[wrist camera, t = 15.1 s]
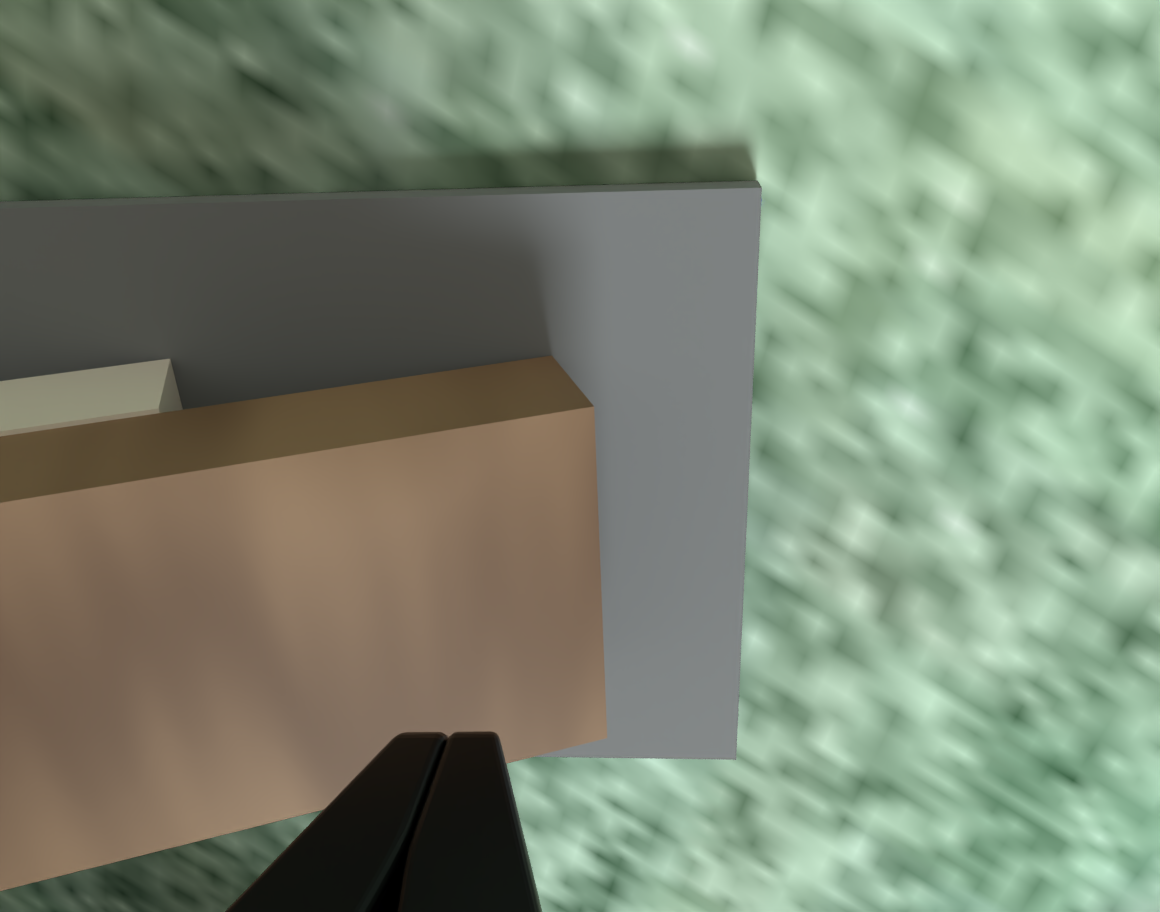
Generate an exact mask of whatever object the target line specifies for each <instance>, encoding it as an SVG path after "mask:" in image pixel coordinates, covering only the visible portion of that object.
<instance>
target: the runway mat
mask: <svg viewBox="0 0 1160 912" xmlns="http://www.w3.org/2000/svg"><path fill="white" fill-rule="evenodd" d="M761 191H762V187H761V186H760V184H759V182H758V181H726V182H690V183H654V184H618V185H582V186H545V187H509V188H473V189H437V190H401V191H365V192H328V193H292V194H256V195H220V196H184V197H148V198H111V199H75V200H39V201H3V202H0V381H6V380H13V379H21V378H28V377H36V376H43V375H51V374H58V373H65V372H73V371H80V370H88V369H95V368H103V367H110V366H118V365H125V364H133V363H140V362H148V361H155V360H163V359H170V360H171V364H172V368H173V372H174V376H175V380H176V384H177V388H178V392H179V396H180V400H181V404H182V408H183V410H184V409H191V408H198V407H205V406H212V405H218V404H225V403H232V402H239V401H246V400H252V399H259V398H266V397H273V396H280V395H286V394H293V393H300V392H307V391H314V390H320V389H327V388H334V387H341V386H348V385H354V384H361V383H368V382H375V381H382V380H388V379H395V378H402V377H409V376H416V375H423V374H429V373H436V372H443V371H450V370H457V369H463V368H470V367H477V366H484V365H491V364H497V363H504V362H511V361H518V360H525V359H531V358H538V357H545V356H553V357H554V359H555V360H556V361H557V362H558V363H559V365H560V366H561V367H562V368H563V369H564V371H565V372H566V373H567V374H568V376H569V377H570V378H571V379H572V380H573V382H574V383H575V384H576V385H577V386H578V388H579V389H580V390H581V391H582V392H583V394H584V395H585V396H586V397H587V398H588V400H589V401H590V402H591V403H592V404H593V406H594V415H595V441H596V466H597V491H598V516H599V542H600V567H601V592H602V618H603V643H604V668H605V693H606V719H607V738H606V739H602V740H598V741H594V742H590V743H586V744H582V745H578V746H574V747H570V748H566V749H562V750H558V751H554V752H550V753H546V754H542V755H538V756H534V757H598V758H665V759H733V760H736V748H737V726H738V703H739V681H740V659H741V637H742V614H743V592H744V570H745V548H746V525H747V503H748V481H749V459H750V436H751V414H752V392H753V370H754V347H755V325H756V303H757V281H758V258H759V236H760V214H761Z"/></svg>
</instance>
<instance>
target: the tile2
mask: <svg viewBox="0 0 1160 912" xmlns="http://www.w3.org/2000/svg"><path fill="white" fill-rule="evenodd" d="M178 410H183V408H182V404H181V400H180V396H179V392H178V388H177V384H176V380H175V376H174V372H173V368H172V364H171V360H170V359H163V360H155V361H148V362H140V363H133V364H125V365H118V366H110V367H103V368H95V369H88V370H80V371H73V372H65V373H58V374H51V375H43V376H36V377H28V378H21V379H13V380H6V381H0V437H1V436H7V435H14V434H21V433H28V432H35V431H41V430H48V429H55V428H62V427H69V426H75V425H82V424H89V423H96V422H103V421H109V420H116V419H123V418H130V417H137V416H144V415H150V414H157V413H164V412H171V411H178Z"/></svg>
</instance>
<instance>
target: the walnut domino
mask: <svg viewBox="0 0 1160 912" xmlns="http://www.w3.org/2000/svg"><path fill="white" fill-rule="evenodd" d="M474 731H491V732H495V733H497V735H498V736H499V738H500V741H501V745H502V749H503V753H504V757H505V761H506V763H510V762H514V761H518V760H522V759H526V758H530V757H534V756H538V755H542V754H546V753H550V752H554V751H558V750H562V749H566V748H570V747H574V746H578V745H582V744H586V743H590V742H594V741H598V740H602V739H606V738H607V719H606V693H605V668H604V643H603V618H602V592H601V567H600V542H599V516H598V491H597V466H596V441H595V415H594V406H593V404H592V403H591V402H590V401H589V400H588V398H587V397H586V396H585V395H584V394H583V392H582V391H581V390H580V389H579V388H578V386H577V385H576V384H575V383H574V382H573V380H572V379H571V378H570V377H569V376H568V374H567V373H566V372H565V371H564V369H563V368H562V367H561V366H560V365H559V363H558V362H557V361H556V360H555V359H554V357H553V356H545V357H538V358H531V359H525V360H518V361H511V362H504V363H497V364H491V365H484V366H477V367H470V368H463V369H457V370H450V371H443V372H436V373H429V374H423V375H416V376H409V377H402V378H395V379H388V380H382V381H375V382H368V383H361V384H354V385H348V386H341V387H334V388H327V389H320V390H314V391H307V392H300V393H293V394H286V395H280V396H273V397H266V398H259V399H252V400H246V401H239V402H232V403H225V404H218V405H212V406H205V407H198V408H191V409H184V410H178V411H171V412H164V413H157V414H150V415H144V416H137V417H130V418H123V419H116V420H109V421H103V422H96V423H89V424H82V425H75V426H69V427H62V428H55V429H48V430H41V431H35V432H28V433H21V434H14V435H7V436H1V437H0V891H3V890H7V889H11V888H14V887H18V886H22V885H26V884H30V883H34V882H38V881H42V880H46V879H50V878H54V877H58V876H62V875H66V874H70V873H74V872H78V871H82V870H86V869H90V868H94V867H98V866H102V865H106V864H110V863H114V862H118V861H122V860H126V859H130V858H133V857H137V856H141V855H145V854H149V853H153V852H157V851H161V850H165V849H169V848H173V847H177V846H181V845H185V844H189V843H193V842H197V841H201V840H205V839H209V838H213V837H217V836H221V835H225V834H229V833H233V832H237V831H241V830H245V829H249V828H252V827H256V826H260V825H264V824H268V823H272V822H276V821H280V820H284V819H288V818H292V817H296V816H300V815H304V814H308V813H312V812H316V811H320V810H324V809H325V808H326V807H327V806H328V805H329V804H330V803H331V802H332V801H333V800H334V799H335V798H336V797H337V796H338V795H339V793H340V792H341V791H342V790H343V789H344V788H345V787H346V786H347V785H348V784H349V783H350V782H351V781H352V780H353V779H354V778H355V777H356V776H357V775H358V774H359V773H360V772H361V771H362V770H363V769H364V768H365V767H366V766H367V765H368V763H369V762H370V761H371V760H372V759H373V758H374V757H375V756H376V755H377V754H378V753H379V752H380V751H381V750H382V749H383V748H384V747H385V746H386V745H387V744H388V743H389V742H390V741H391V740H392V739H393V738H394V737H395V736H397V735H399V734H400V733H404V732H442V733H444V734H446V735H447V736H448V737H449V736H450V735H451V734H453V733H454V732H474Z"/></svg>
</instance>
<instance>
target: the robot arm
mask: <svg viewBox="0 0 1160 912" xmlns="http://www.w3.org/2000/svg"><path fill="white" fill-rule="evenodd" d="M225 912H542V909H541V904H540V900H539V896H538V892H537V888H536V884H535V880H534V876H533V872H532V868H531V864H530V859H529V855H528V851H527V847H526V843H525V839H524V835H523V831H522V827H521V823H520V818H519V814H518V810H517V806H516V802H515V798H514V794H513V790H512V786H511V782H510V777H509V773H508V769H507V765H506V761H505V757H504V753H503V749H502V745H501V741H500V738H499V736H498V735H497V733H495V732H491V731H474V732H454V733H453V734H451V735H450V736H449V737H448V736H447V735H446V734H444V733H442V732H404V733H400V734H399V735H397V736H395V737H394V738H393V739H392V740H391V741H390V742H389V743H388V744H387V745H386V746H385V747H384V748H383V749H382V750H381V751H380V752H379V753H378V754H377V755H376V756H375V757H374V758H373V759H372V760H371V761H370V762H369V763H368V765H367V766H366V767H365V768H364V769H363V770H362V771H361V772H360V773H359V774H358V775H357V776H356V777H355V778H354V779H353V780H352V781H351V782H350V783H349V784H348V785H347V786H346V787H345V788H344V789H343V790H342V791H341V792H340V793H339V795H338V796H337V797H336V798H335V799H334V800H333V801H332V802H331V803H330V804H329V805H328V806H327V807H326V808H325V809H324V810H323V811H322V812H321V813H320V814H319V815H318V816H317V817H316V818H315V819H314V820H313V821H312V822H311V823H310V825H309V826H308V827H307V828H306V829H305V830H304V831H303V832H302V833H301V834H300V835H299V836H298V837H297V838H296V839H295V840H294V841H293V842H292V843H291V844H290V845H289V846H288V847H287V848H286V849H285V850H284V851H283V852H282V853H281V855H280V856H279V857H278V858H277V859H276V860H275V861H274V862H273V863H272V864H271V865H270V866H269V867H268V868H267V869H266V870H265V871H264V872H263V873H262V874H261V875H260V876H259V877H258V878H257V879H256V880H255V881H254V882H253V883H252V885H251V886H250V887H249V888H248V889H247V890H246V891H245V892H244V893H243V894H242V895H241V896H240V897H239V898H238V899H237V900H236V901H235V902H234V903H233V904H232V905H231V906H230V907H229V908H228V909H227V910H226V911H225Z"/></svg>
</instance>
